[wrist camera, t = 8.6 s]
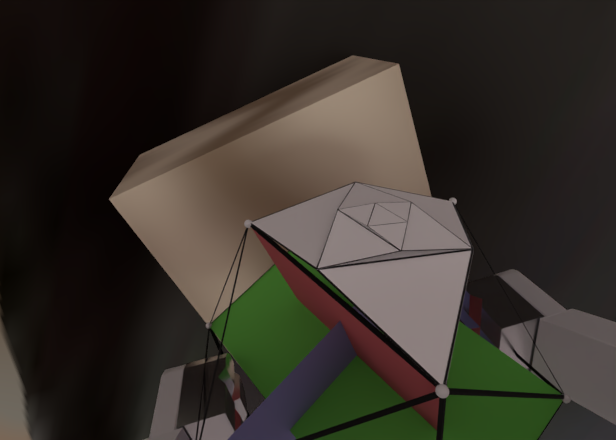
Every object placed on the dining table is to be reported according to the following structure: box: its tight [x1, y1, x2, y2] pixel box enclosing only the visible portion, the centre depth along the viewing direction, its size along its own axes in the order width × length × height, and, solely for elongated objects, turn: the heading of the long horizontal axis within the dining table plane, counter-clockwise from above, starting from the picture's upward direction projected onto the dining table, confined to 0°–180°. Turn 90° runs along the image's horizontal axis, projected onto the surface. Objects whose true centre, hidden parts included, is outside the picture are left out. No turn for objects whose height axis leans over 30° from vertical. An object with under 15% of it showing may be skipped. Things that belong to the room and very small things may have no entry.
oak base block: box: [109, 55, 432, 358], centre depth 14 cm, size 9×9×4 cm
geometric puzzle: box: [195, 182, 571, 440], centre depth 8 cm, size 7×7×8 cm
